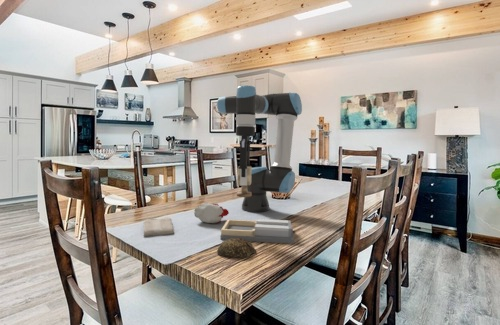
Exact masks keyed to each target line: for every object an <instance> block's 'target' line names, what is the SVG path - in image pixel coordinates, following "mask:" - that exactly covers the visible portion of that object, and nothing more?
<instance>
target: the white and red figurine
mask: <svg viewBox="0 0 500 325" xmlns="http://www.w3.org/2000/svg"><path fill="white" fill-rule="evenodd" d="M193 214H194V217H196V218H198V219H199V221H200V222H202V223H206V224H218V223H221V221H222V220H223V218H224V217H227V216H228V215H229V210H228V209H227V208H223V206H220V205H219V204H218V203H209V202H202V203H201V204H199V206H197V207H195V208H194V210H193Z"/></svg>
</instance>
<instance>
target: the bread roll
mask: <svg viewBox="0 0 500 325" xmlns="http://www.w3.org/2000/svg"><path fill="white" fill-rule="evenodd" d="M216 252H217V255H219V256H221V257H224V258H232V259H236V258H237V259H246V258H249V257H250V256H251V255H252V254H256V253H257V250H256V249H255V247H254V245H253V244H252V243H250V241H245V240H244V239H241V238H234V239H233V238H231V239H228V240H223V241H222V242H221V243H220V244H219V246H218V248H217V251H216Z"/></svg>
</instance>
